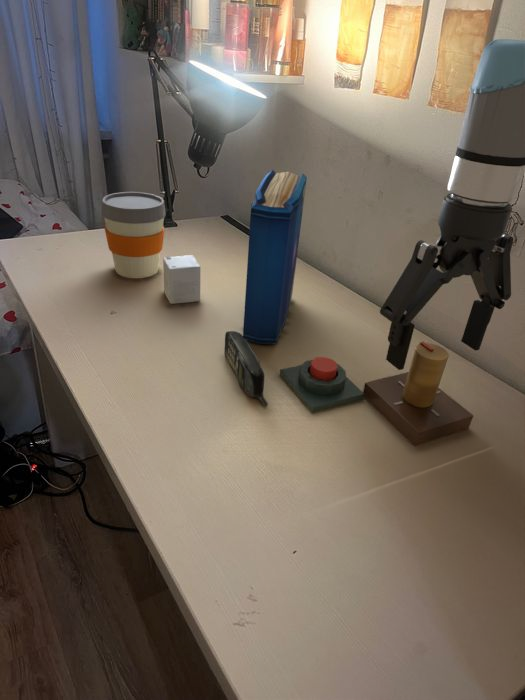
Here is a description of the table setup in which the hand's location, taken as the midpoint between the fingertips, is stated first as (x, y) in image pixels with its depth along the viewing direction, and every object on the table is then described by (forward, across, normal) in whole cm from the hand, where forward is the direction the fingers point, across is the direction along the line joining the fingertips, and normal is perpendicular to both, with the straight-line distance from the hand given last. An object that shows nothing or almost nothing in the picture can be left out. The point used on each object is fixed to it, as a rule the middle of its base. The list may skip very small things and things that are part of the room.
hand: (433, 354), depth 69 cm
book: (+10, +8, -32) cm, 35 cm away
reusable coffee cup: (+9, +26, -61) cm, 67 cm away
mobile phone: (+10, +20, -16) cm, 28 cm away
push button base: (+10, +10, -10) cm, 18 cm away
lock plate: (+10, 0, 0) cm, 10 cm away
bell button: (+7, +10, -10) cm, 16 cm away
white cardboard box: (+10, +20, -46) cm, 52 cm away
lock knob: (+7, 0, 0) cm, 7 cm away
